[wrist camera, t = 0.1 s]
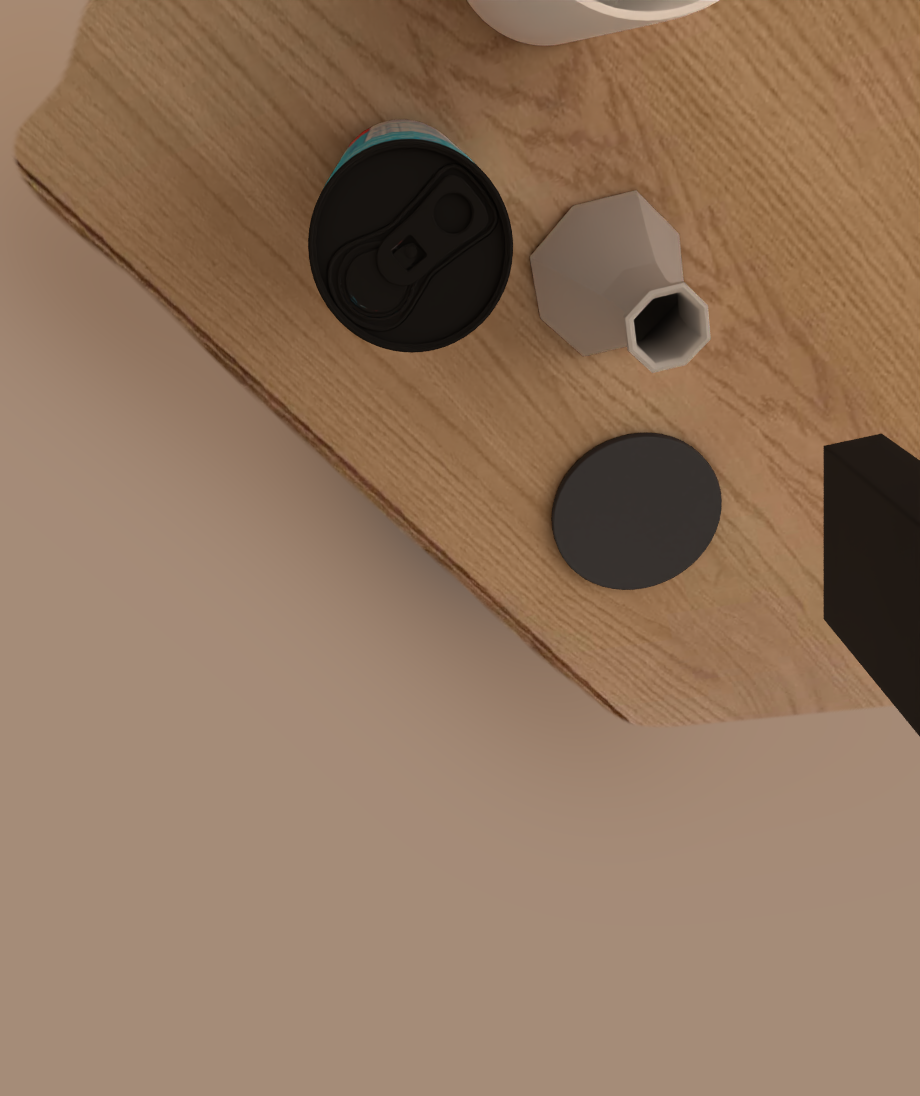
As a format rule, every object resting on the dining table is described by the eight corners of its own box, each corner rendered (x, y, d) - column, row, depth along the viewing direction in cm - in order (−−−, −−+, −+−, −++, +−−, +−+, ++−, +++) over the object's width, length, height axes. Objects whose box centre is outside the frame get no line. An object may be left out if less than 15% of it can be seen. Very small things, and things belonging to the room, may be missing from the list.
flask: (708, 301, 42) (794, 359, 33) (574, 379, 43) (622, 456, 34) (644, 159, 39) (720, 182, 30) (501, 249, 40) (535, 296, 31)
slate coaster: (517, 506, 46) (518, 511, 46) (657, 397, 44) (660, 400, 43) (614, 613, 50) (617, 618, 49) (749, 517, 47) (753, 522, 47)
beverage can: (308, 165, 38) (266, 210, 24) (427, 89, 37) (451, 94, 23) (380, 287, 40) (377, 388, 27) (493, 220, 39) (548, 290, 26)
